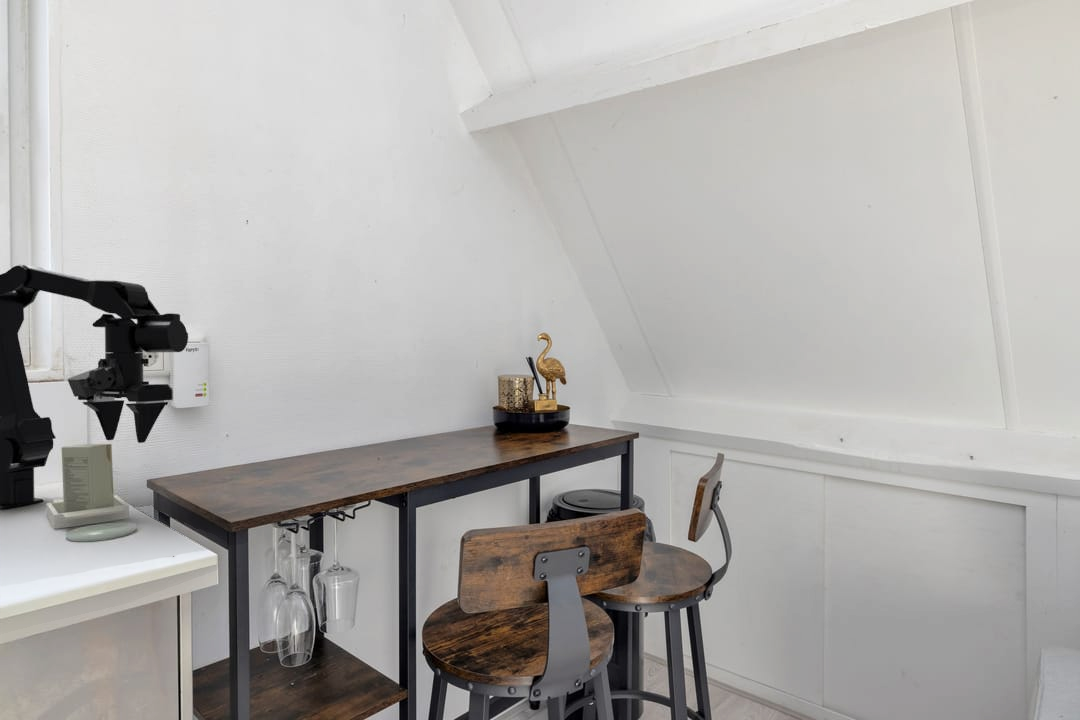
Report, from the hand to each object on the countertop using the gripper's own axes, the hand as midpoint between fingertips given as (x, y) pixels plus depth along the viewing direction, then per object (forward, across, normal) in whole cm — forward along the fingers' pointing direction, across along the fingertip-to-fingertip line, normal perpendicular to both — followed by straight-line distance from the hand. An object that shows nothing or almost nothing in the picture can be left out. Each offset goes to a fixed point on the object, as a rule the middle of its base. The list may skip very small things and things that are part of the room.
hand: (125, 441), depth 121 cm
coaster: (+12, +14, -12) cm, 22 cm away
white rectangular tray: (+12, 0, -7) cm, 14 cm away
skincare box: (+12, 0, -6) cm, 14 cm away
